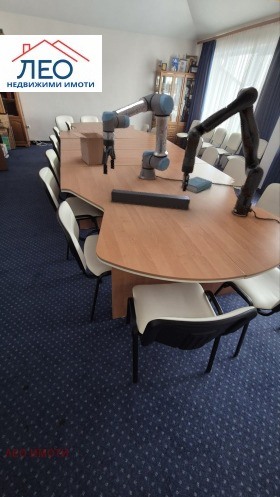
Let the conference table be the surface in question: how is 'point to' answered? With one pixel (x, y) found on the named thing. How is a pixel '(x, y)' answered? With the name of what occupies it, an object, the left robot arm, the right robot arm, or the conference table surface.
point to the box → (91, 146)
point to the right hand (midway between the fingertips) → (183, 188)
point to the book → (198, 184)
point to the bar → (150, 199)
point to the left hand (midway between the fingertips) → (109, 171)
